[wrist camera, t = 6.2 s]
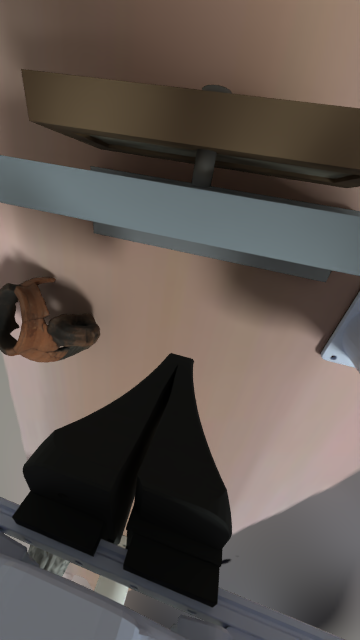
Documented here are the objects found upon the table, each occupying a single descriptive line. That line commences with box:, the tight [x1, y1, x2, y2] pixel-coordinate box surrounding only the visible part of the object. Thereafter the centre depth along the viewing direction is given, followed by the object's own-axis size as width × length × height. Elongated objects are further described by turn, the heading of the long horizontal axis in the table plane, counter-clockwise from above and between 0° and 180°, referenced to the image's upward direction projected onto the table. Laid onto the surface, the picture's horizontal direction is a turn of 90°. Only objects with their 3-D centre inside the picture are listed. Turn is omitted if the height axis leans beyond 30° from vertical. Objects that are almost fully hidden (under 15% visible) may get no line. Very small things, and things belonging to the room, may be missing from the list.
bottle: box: [94, 535, 129, 605], centre depth 50 cm, size 8×8×28 cm
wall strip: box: [0, 155, 360, 282], centre depth 14 cm, size 20×5×10 cm, turn 81°
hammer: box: [28, 545, 70, 577], centre depth 51 cm, size 15×10×30 cm
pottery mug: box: [0, 277, 100, 362], centre depth 24 cm, size 12×10×8 cm
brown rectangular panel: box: [21, 69, 360, 188], centre depth 11 cm, size 16×3×6 cm, turn 81°
